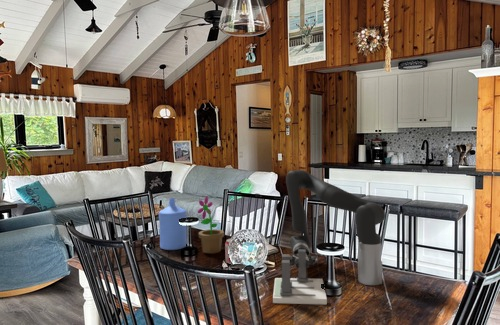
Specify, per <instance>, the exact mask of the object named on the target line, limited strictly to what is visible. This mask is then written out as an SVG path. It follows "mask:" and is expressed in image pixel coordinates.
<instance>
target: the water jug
mask: <svg viewBox="0 0 500 325" xmlns="http://www.w3.org/2000/svg"><path fill="white" fill-rule="evenodd" d="M175 200H176V199H175V198H169V199H168V201H169V205H168V206H166V207H165V208H163V209H161V210H159V212H158V222H159V224H158V225H159V228H158V229H159V230H158V231H159V247H160V249H163V250H165V251H176V250H182V249H184V248H186V247H187V246H186V244H187V245H188V234H187V232H188V228H187V225H186V226H182V225H180V224H179V222H178V221H179V219H181V218H186V219H187V210H186V209H185V208H182V207H180V206H177V205H176V201H175Z"/></svg>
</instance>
